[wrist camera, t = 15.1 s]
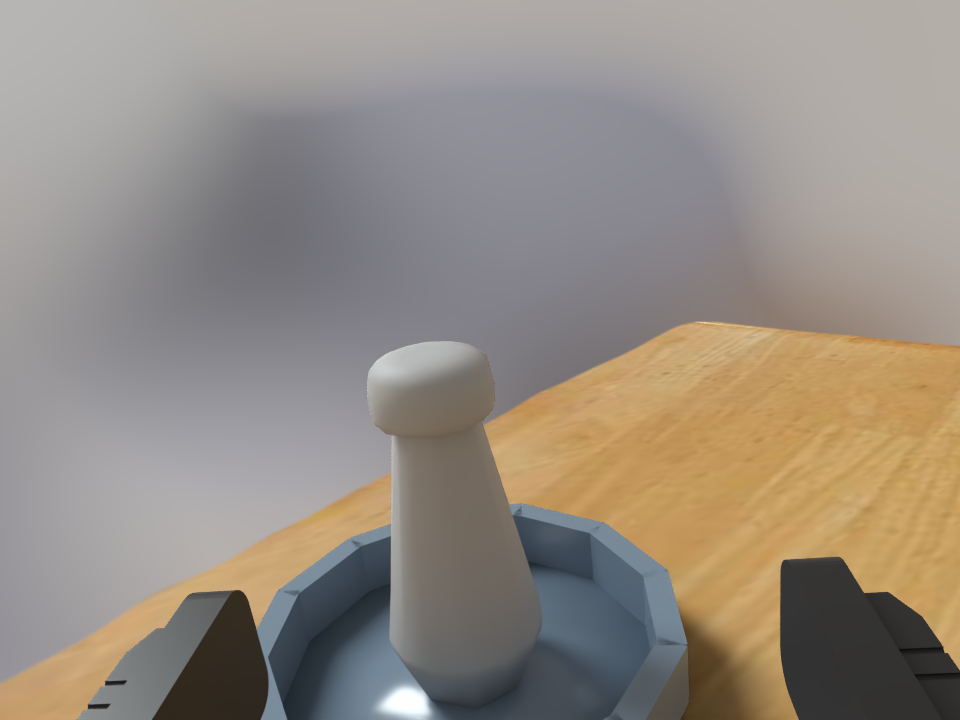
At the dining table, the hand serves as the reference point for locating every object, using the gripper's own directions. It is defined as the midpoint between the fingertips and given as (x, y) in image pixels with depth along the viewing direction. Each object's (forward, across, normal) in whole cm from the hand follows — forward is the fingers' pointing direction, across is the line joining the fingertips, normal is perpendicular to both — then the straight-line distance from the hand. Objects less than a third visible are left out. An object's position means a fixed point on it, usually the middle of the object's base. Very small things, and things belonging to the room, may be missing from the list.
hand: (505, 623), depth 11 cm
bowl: (+14, +4, +14) cm, 20 cm away
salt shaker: (+14, +4, +14) cm, 20 cm away
